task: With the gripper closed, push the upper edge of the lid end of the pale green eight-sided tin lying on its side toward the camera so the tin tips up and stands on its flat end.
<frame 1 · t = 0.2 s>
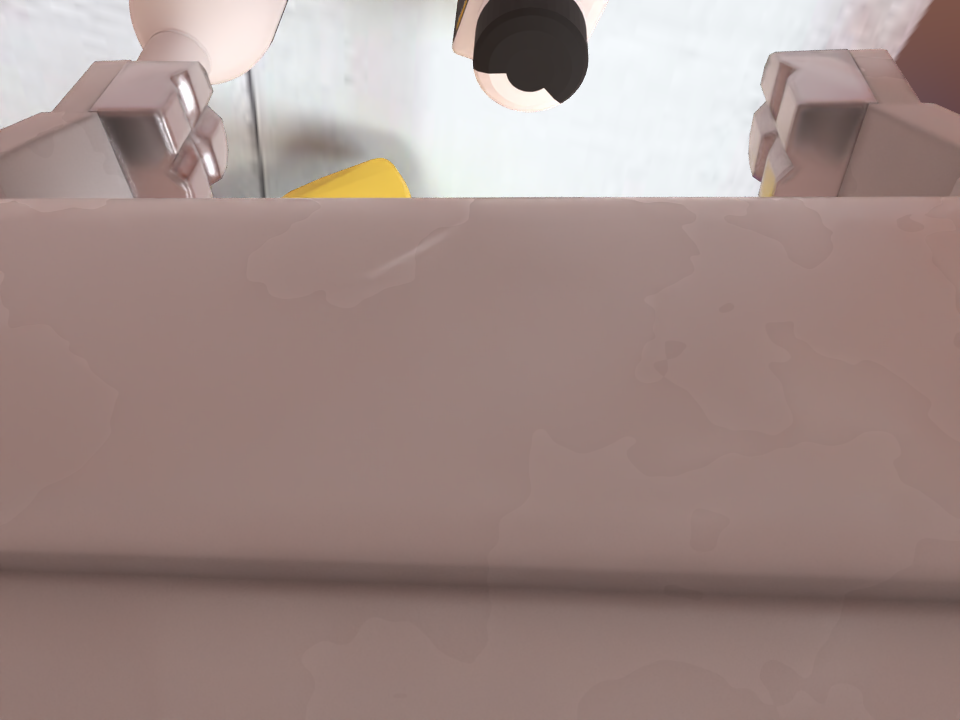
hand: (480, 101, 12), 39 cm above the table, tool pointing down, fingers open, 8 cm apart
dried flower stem: (345, 307, 75), on the table
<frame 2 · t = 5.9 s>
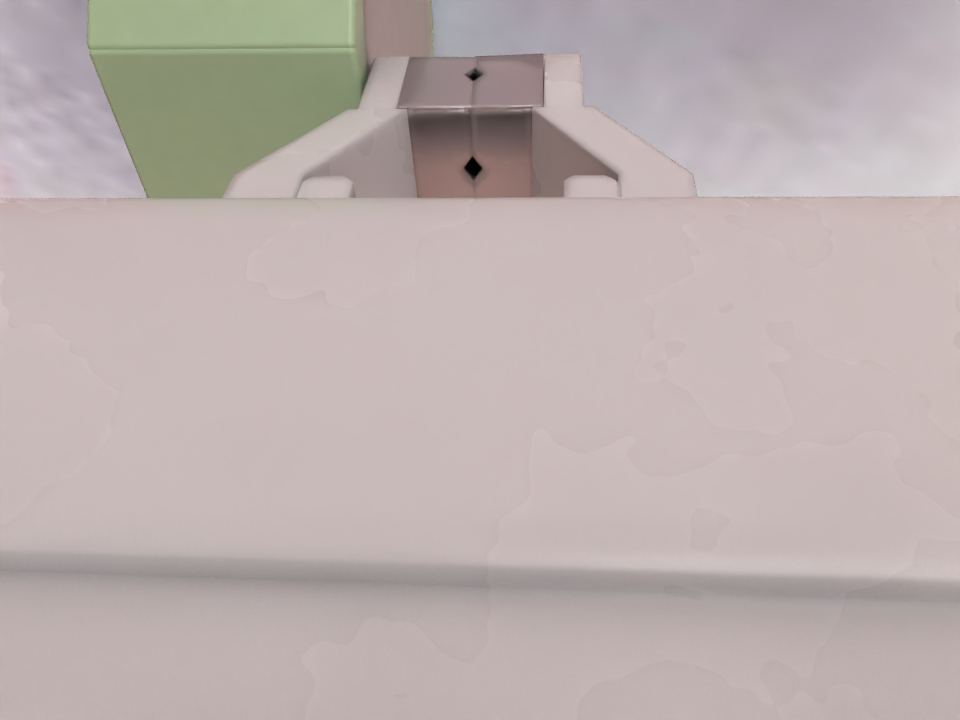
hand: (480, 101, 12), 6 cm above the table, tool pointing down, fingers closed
tin: (301, 38, 14), point 4 cm above the table, touching gripper
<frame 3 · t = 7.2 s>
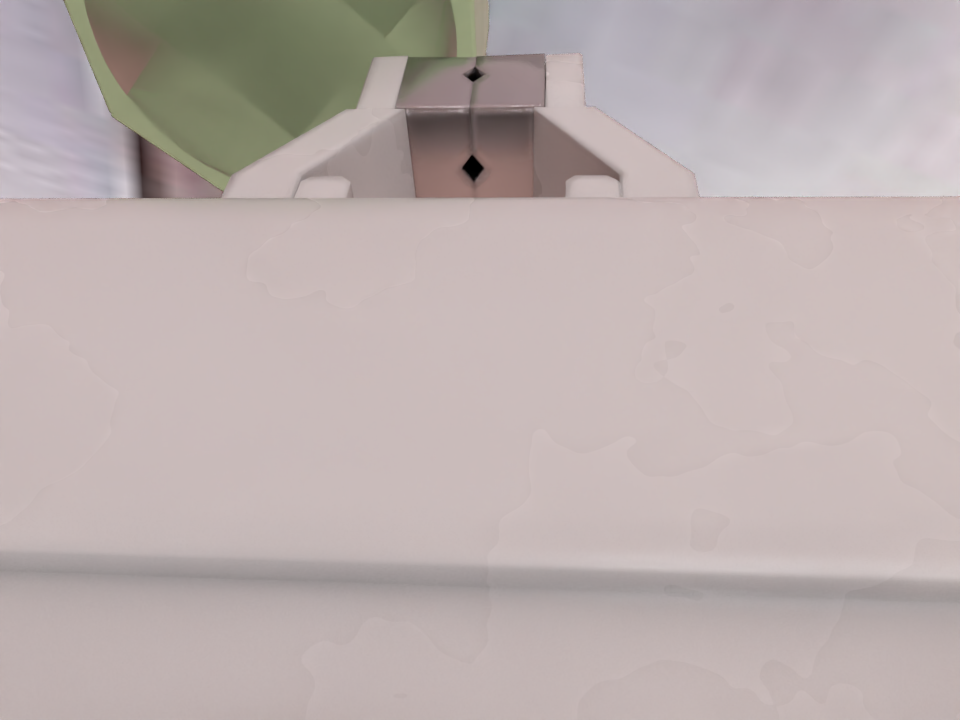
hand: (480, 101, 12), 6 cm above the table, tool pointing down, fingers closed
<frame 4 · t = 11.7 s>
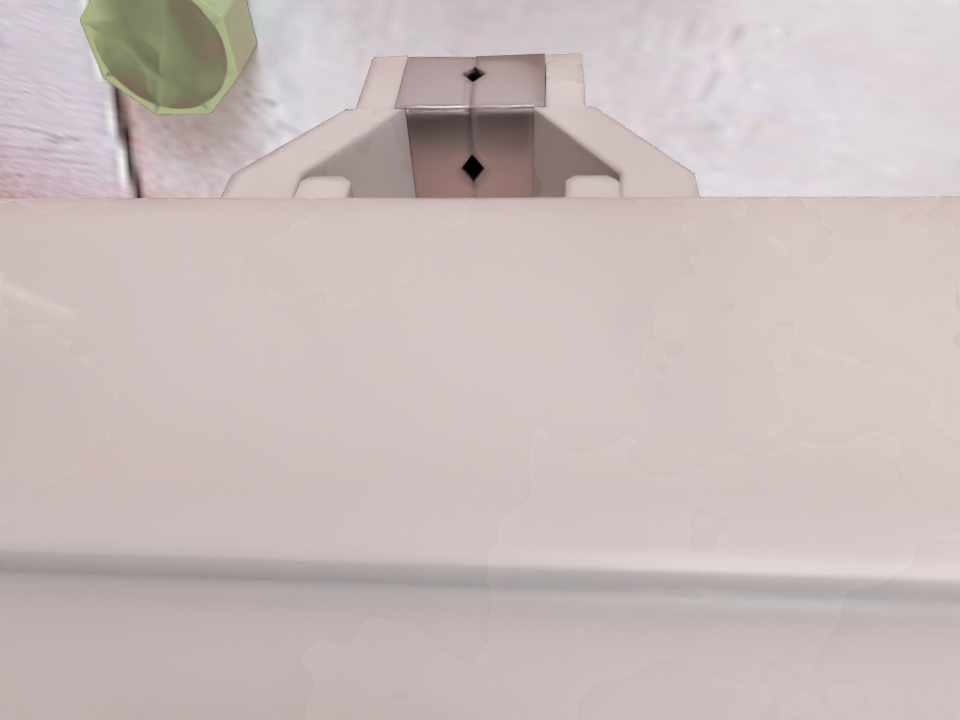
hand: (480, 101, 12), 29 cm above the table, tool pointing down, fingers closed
tin: (172, 32, 40), point 2 cm above the table, tilted 90°
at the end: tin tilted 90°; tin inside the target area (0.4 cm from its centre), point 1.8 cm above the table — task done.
